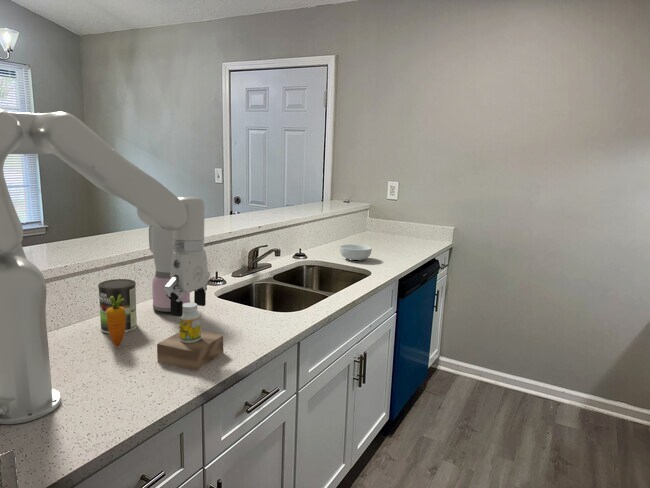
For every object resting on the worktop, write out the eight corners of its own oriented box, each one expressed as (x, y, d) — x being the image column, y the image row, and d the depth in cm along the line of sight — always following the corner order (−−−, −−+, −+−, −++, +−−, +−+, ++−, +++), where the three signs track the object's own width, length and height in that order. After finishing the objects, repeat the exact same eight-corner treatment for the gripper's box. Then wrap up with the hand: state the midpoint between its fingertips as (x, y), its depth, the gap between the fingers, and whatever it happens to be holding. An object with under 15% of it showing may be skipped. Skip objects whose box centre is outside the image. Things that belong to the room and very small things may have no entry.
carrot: (122, 341, 128) (119, 290, 125) (130, 346, 125) (128, 294, 122) (104, 346, 124) (101, 294, 122) (113, 352, 121) (110, 298, 119)
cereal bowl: (374, 258, 247) (375, 246, 246) (364, 264, 232) (365, 251, 231) (346, 255, 254) (346, 242, 253) (334, 260, 239) (335, 247, 238)
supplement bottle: (205, 339, 120) (204, 304, 118) (188, 345, 116) (187, 309, 114) (192, 334, 123) (191, 300, 121) (175, 340, 119) (174, 305, 117)
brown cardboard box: (196, 370, 113) (196, 352, 112) (157, 362, 117) (156, 343, 116) (223, 352, 124) (223, 335, 123) (186, 344, 128) (186, 328, 127)
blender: (198, 307, 159) (196, 217, 153) (171, 317, 148) (168, 221, 142) (165, 299, 166) (163, 212, 160) (138, 308, 155) (134, 216, 149)
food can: (117, 336, 132) (114, 290, 129) (92, 329, 136) (90, 284, 133) (145, 325, 141) (143, 281, 138) (121, 319, 145) (119, 277, 142)
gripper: (179, 252, 105) (179, 322, 108) (220, 242, 121) (219, 303, 124) (153, 249, 108) (153, 317, 111) (196, 239, 124) (196, 299, 127)
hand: (188, 310), depth 118 cm, fingers open, 9 cm apart
